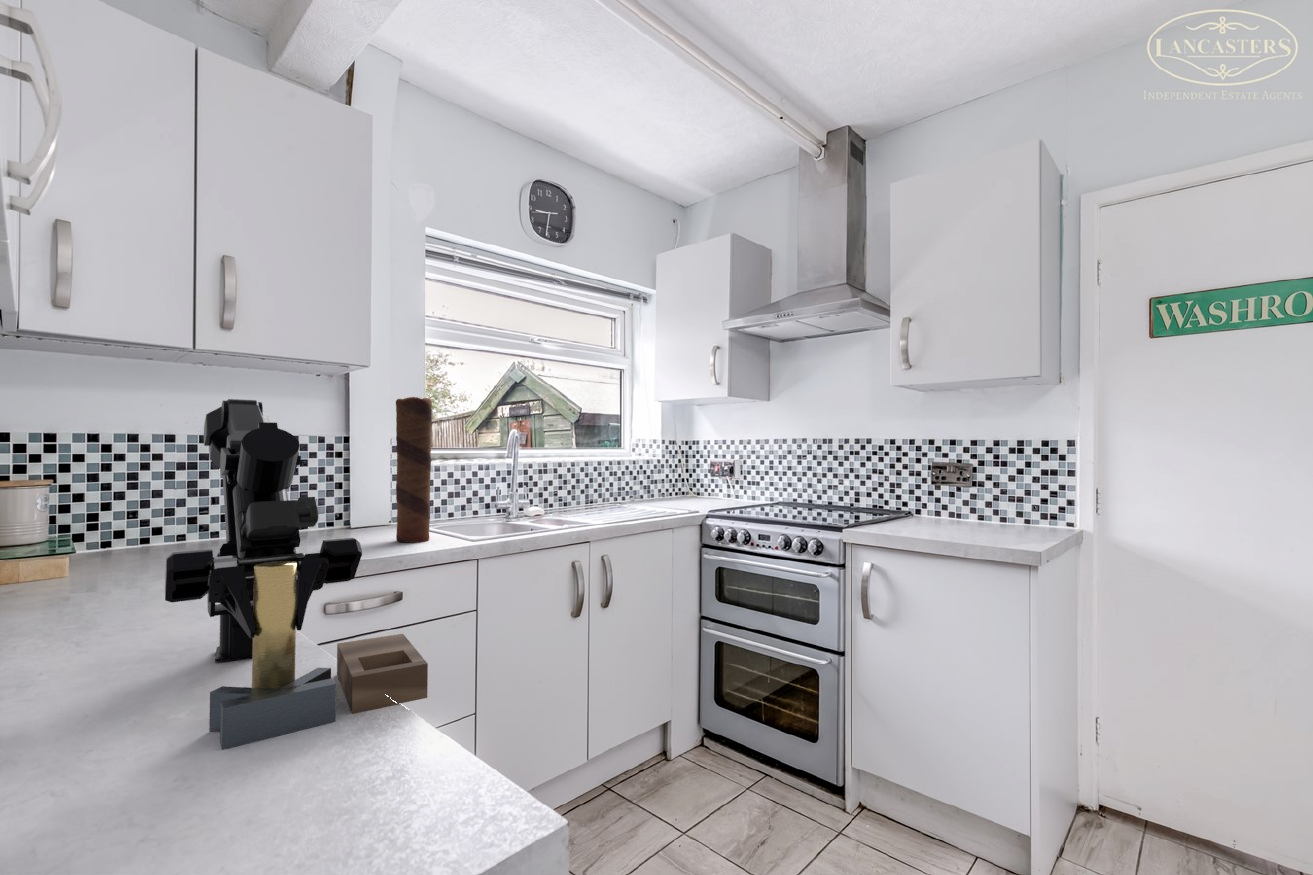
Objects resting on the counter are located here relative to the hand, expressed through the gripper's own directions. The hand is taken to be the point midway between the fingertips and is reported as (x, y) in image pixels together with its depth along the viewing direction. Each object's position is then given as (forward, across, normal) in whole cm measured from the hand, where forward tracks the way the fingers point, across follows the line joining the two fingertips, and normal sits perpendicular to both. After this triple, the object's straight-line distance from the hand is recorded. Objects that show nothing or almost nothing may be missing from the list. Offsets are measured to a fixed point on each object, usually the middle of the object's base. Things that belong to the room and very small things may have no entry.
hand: (276, 631), depth 67 cm
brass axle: (+4, 0, +6) cm, 7 cm away
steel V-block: (+7, 0, +6) cm, 10 cm away
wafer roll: (-79, +54, +94) cm, 134 cm away
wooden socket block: (+4, +12, +9) cm, 15 cm away
